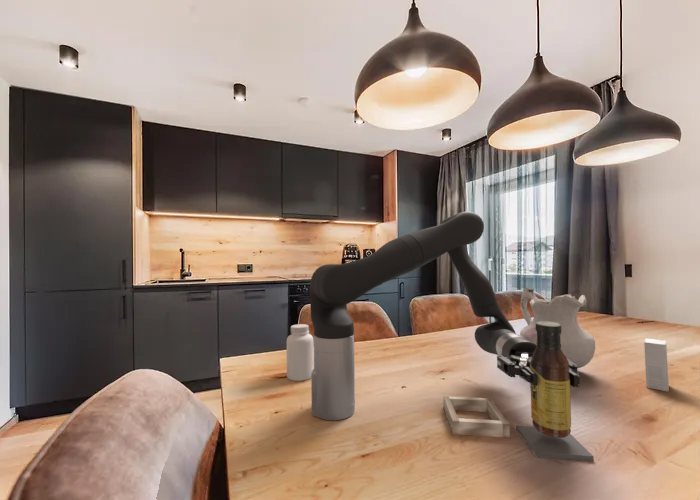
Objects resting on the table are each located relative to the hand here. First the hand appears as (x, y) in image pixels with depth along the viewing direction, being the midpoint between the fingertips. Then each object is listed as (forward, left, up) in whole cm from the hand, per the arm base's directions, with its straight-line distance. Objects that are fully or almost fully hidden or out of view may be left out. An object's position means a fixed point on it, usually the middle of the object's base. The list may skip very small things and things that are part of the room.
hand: (555, 380), depth 56 cm
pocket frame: (-12, +9, -12) cm, 19 cm away
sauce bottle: (0, +3, -10) cm, 10 cm away
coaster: (0, +2, -12) cm, 12 cm away
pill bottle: (-56, +30, -12) cm, 65 cm away
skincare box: (+41, +33, -12) cm, 54 cm away
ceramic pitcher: (+20, +44, -12) cm, 50 cm away
